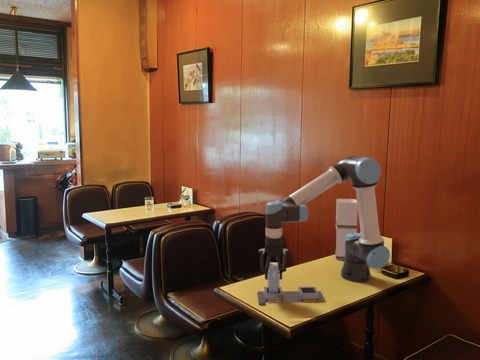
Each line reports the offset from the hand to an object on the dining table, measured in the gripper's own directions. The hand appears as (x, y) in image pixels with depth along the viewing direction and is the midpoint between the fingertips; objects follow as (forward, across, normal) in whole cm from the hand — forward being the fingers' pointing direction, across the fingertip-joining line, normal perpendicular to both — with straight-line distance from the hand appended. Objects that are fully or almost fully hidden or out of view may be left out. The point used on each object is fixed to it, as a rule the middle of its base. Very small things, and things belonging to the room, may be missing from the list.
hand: (273, 285), depth 176 cm
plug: (+4, 0, 0) cm, 4 cm away
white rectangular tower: (+6, -49, -58) cm, 76 cm away
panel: (+6, -8, 0) cm, 10 cm away
